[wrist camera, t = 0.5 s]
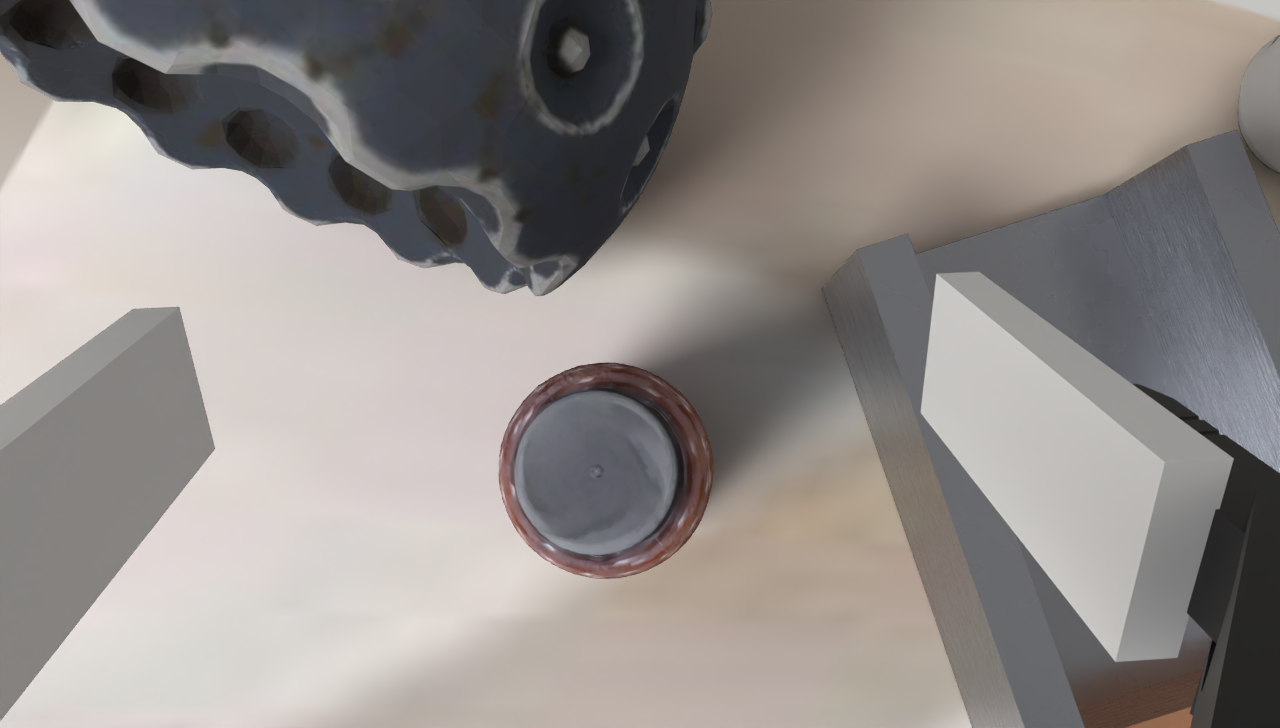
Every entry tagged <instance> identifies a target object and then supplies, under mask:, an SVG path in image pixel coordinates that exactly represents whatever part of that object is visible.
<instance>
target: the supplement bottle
mask: <svg viewBox="0 0 1280 728" xmlns="http://www.w3.org/2000/svg"><path fill="white" fill-rule="evenodd" d="M712 479H713V458H712V450H711V446H710V442H709V439H708V436H707V433H706V430H705V428H704V426H703V423H702V422H701V420H700V418H699V416H698V414H697V413H696V411H695V409H694V408H693V406H692V405H691V404H690V403H689V401H688V400H687V399H686V398H685V397H684V396H683V395H682V394H681V393H680V392H679V391H678V390H677V389H676V388H674V387H673V386H672V385H670V384H669V383H668V382H666V381H665V380H663V379H662V378H660V377H658V376H656V375H654V374H652V373H650V372H648V371H646V370H643V369H640V368H637V367H634V366H630V365H625V364H619V363H596V364H588V365H581V366H577V367H575V368H571V369H569V370H566V371H564V372H562V373H560V374H557V375H555V376H553V377H552V378H550V379H548V380H547V381H545V382H544V383H542V384H540V385H538V387H537V388H536V389H535V390H534V391H533V392H532V393H531V394H530V395H529V396H528V397H527V398H526V399H525V400H524V401H523V403H522V404H521V405H520V407H519V408H518V409H517V411H516V413H515V414H514V416H513V417H512V419H511V421H510V422H509V425H508V427H507V429H506V432H505V434H504V437H503V442H502V444H501V450H500V457H499V484H500V490H501V493H502V499H503V502H504V505H505V507H506V510H507V513H508V515H509V518H510V519H511V521H512V523H513V525H514V527H515V528H516V530H517V532H518V533H519V534H520V536H521V537H522V538H523V539H524V541H525V542H526V543H527V544H528V545H529V546H530V547H531V548H532V549H533V550H534V551H535V552H537V553H538V554H539V555H540V556H541V557H542V558H544V559H545V560H547V561H549V562H550V563H552V564H553V565H555V566H558V567H559V568H561V569H563V570H566V571H568V572H571V573H573V574H577V575H581V576H586V577H590V578H596V579H609V578H621V577H626V576H630V575H635V574H638V573H641V572H644V571H646V570H649V569H651V568H653V567H655V566H657V565H659V564H660V563H662V562H664V561H665V560H667V559H668V558H670V557H671V556H672V555H673V554H674V553H676V552H677V551H678V550H679V549H680V548H681V547H682V546H683V545H684V544H685V543H686V542H687V541H688V540H689V538H690V537H691V536H692V534H693V533H694V531H695V530H696V528H697V527H698V525H699V523H700V521H701V519H702V517H703V514H704V511H705V509H706V506H707V503H708V499H709V495H710V491H711V486H712Z"/></svg>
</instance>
